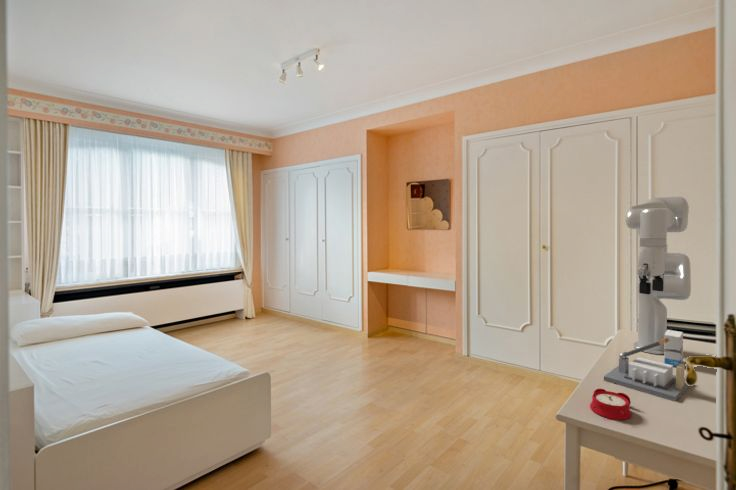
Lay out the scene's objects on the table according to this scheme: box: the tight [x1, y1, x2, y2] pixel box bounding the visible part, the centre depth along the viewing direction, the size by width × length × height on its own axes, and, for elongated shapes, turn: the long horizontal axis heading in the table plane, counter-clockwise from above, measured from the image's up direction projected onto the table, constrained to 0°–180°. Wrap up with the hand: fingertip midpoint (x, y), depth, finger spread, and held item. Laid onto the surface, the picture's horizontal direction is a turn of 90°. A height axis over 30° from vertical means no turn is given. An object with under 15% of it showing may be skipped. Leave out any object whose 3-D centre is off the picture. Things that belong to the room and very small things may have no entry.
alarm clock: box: [589, 388, 632, 421], centre depth 114 cm, size 10×6×15 cm
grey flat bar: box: [619, 338, 670, 359], centre depth 130 cm, size 16×4×2 cm
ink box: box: [663, 329, 684, 368], centre depth 145 cm, size 9×5×12 cm, turn 135°
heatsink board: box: [603, 356, 690, 402], centre depth 130 cm, size 18×20×8 cm
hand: (651, 292), depth 133 cm, fingers open, 9 cm apart
